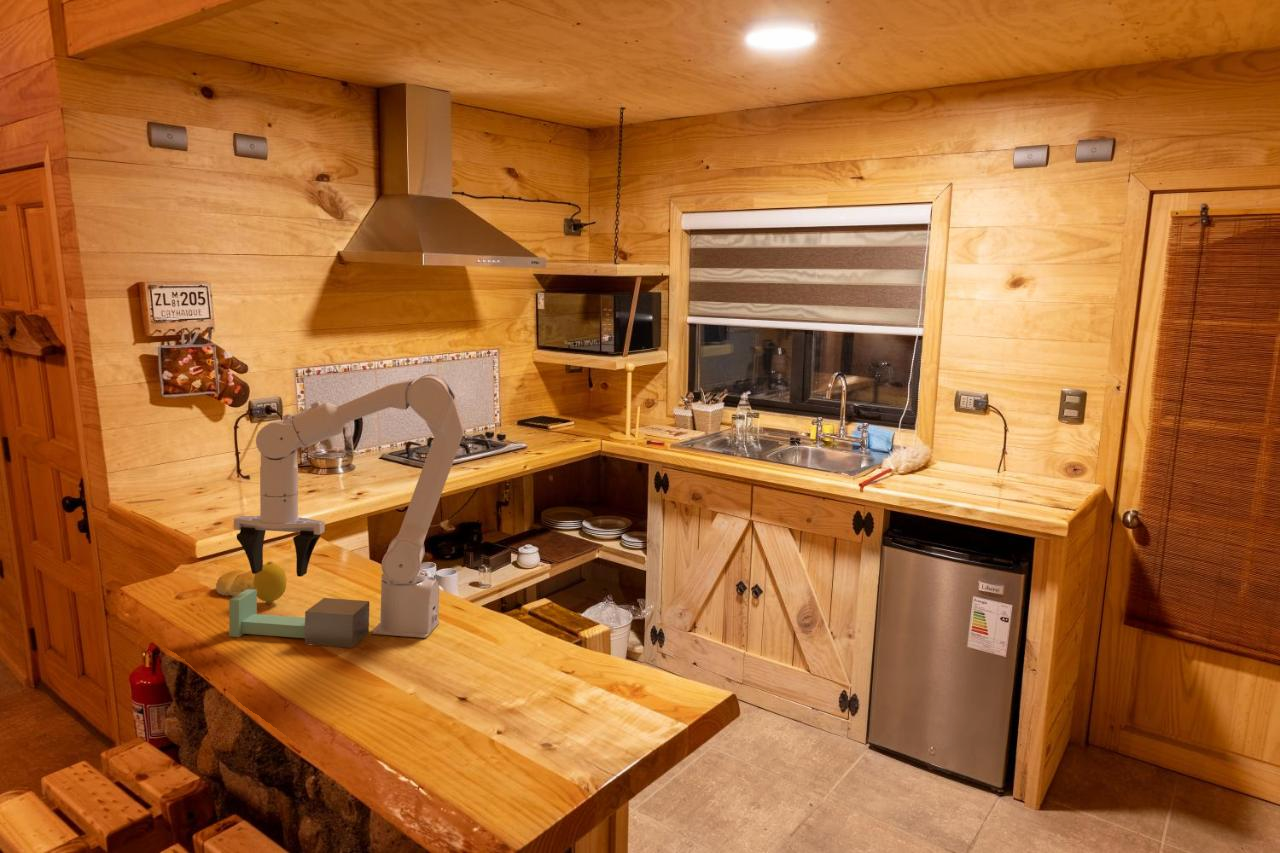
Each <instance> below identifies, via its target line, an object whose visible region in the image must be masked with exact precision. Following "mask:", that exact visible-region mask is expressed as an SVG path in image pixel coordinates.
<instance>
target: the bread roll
mask: <svg viewBox="0 0 1280 853" xmlns="http://www.w3.org/2000/svg"><path fill="white" fill-rule="evenodd" d="M254 576H255V574H252V571H251V570H249V571H245V570H242V569H237V570H232V571H231V570H230V571H228V572H225V573H223V574H222V575H220V577H219V578H218V579H217V580H216V585H215V587H216V588H215V590H216V592H217V593H218V594H219V595H220V594H221V595H220V596H224V595H225V597H232V598H233V597H235V596H236V595H238V594H240V593H242V592H243V591H245V590H247V589H254V587H253V581H254Z"/></svg>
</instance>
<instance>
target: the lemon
mask: <svg viewBox="0 0 1280 853" xmlns="http://www.w3.org/2000/svg"><path fill="white" fill-rule="evenodd" d="M253 587H254V590H257V599H259V600H261V601H264V602H265V603H266V604H268V605H272V604H273V603H274V602H275V601H277V600H279V599H281V597H282V596H283V595H284V593H285V591H286V589H287V575H286V572H285V570H284V568H283V567H282V566H281V565H280V564H278V563H275V562H273V561H270V560H269V561H267V563H265V564H264V563H263V567H262V571H260V572H258V573H257V574H255V576H254V581H253Z"/></svg>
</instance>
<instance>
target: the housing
mask: <svg viewBox="0 0 1280 853" xmlns="http://www.w3.org/2000/svg"><path fill="white" fill-rule="evenodd" d="M304 614H305V615H304V616H305V617H304V618H305V638H304V645H305V644H313V645H312V646H317V645H320V646H322V647H332V648H334V647H335V648H346V649H353V648H354V647H355V646H356V645H357V644H358V643H360V642H361V640H362V639H364V638H365V637H366V636H367V635H368V634H369V632H370V631H369V630H370V601H369V600H360V599H348V598H347V599H346V598H345V599H344V598H331V597H330V598H329V597H323V598H322V599H321V600H319V601H318V602H316V603H315V604H314V605H312V606H311V607H309V608H307V609H306V611H305V613H304ZM320 646H319V647H320Z"/></svg>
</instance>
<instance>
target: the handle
mask: <svg viewBox="0 0 1280 853" xmlns="http://www.w3.org/2000/svg"><path fill="white" fill-rule="evenodd" d="M228 601H229V602H228V603H229V604H228V605H229V606H228V610H229V611H228V612H229V614H228V616H229V618H228V619H229V621H228V624H229V626H228V627H229V628H228V629H229V630H228V632H229V633H228V635H229V636H228V637H234V638H240V637H241V636H242V635H246V634H248V635H258V636H259V635H260V636H270V637H271V636H272V637H286V638H296V639H297V638H299V639H305V617H303V616H302V617H301V616H290V615H289V616H288V615H287V616H286V615H274V614H260V613H257V612H258V609H257V608H258V607H257V606H258V605H257V604H258V603H257V602H258V597H257V590H254V589H247V590H245V591H243V592H242V593H240V594H238V595H236V596H235V597H233V596H232V597H231V598H230V599H229V600H228Z"/></svg>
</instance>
